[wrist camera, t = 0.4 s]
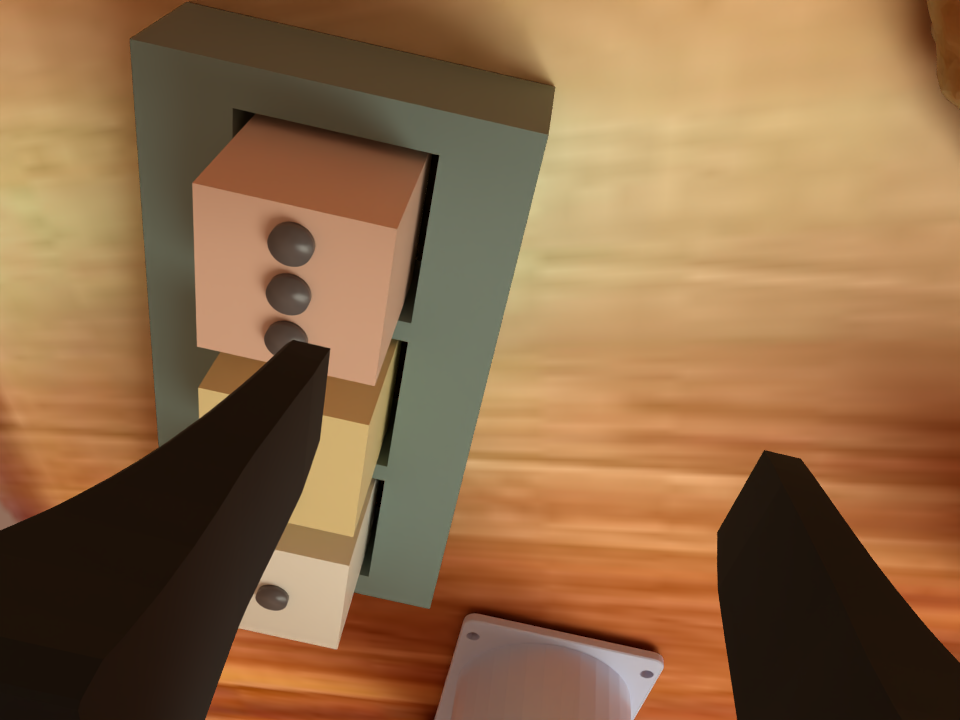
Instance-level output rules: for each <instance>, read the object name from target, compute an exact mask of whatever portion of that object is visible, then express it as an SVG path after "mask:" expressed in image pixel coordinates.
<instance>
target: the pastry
mask: <svg viewBox="0 0 960 720" xmlns="http://www.w3.org/2000/svg"><path fill="white" fill-rule="evenodd" d="M927 6H928V11H929V15H930V19H931V21H932V26H931V35H932V37H933V39H934V41H935V42H936V55H937V78H938V82H939V86H940V89H941V92H942V94H943V95H944V96H945V97H946V99H947V100H948V101H950V102H951V103H953V104H954V105H955V106H956V107H958V108H959V109H960V0H927Z"/></svg>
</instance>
